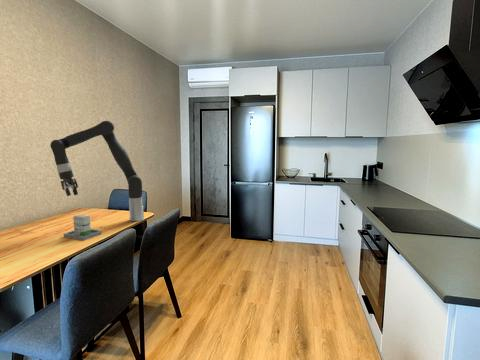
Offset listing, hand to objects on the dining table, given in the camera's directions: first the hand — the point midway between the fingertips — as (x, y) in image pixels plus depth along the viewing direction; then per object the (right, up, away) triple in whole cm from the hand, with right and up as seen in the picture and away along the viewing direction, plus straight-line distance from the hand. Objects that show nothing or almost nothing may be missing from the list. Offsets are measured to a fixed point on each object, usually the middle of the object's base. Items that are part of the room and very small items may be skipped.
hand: (72, 195), depth 174 cm
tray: (+12, -24, -9) cm, 29 cm away
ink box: (+12, -24, -9) cm, 28 cm away
